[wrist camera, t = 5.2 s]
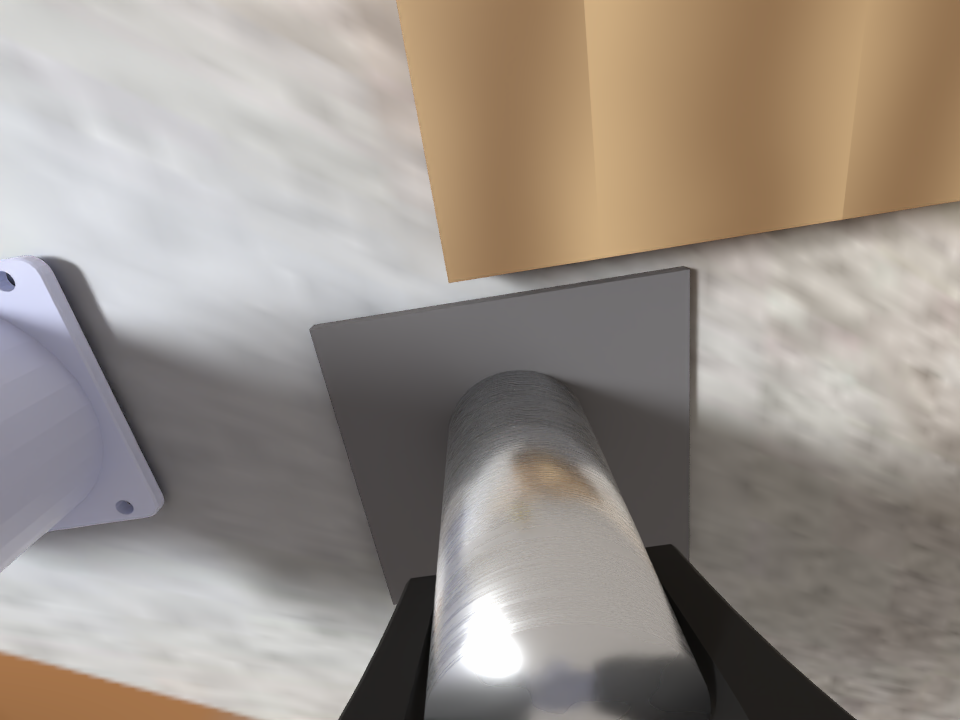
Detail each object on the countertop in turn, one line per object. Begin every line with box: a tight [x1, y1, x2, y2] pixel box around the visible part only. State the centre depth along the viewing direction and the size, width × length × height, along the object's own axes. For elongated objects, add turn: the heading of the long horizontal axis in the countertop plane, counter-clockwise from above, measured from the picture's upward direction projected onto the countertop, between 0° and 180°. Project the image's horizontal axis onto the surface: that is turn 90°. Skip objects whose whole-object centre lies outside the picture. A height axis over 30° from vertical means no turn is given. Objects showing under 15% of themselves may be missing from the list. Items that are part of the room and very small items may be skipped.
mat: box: [310, 266, 690, 605], centre depth 15 cm, size 10×10×1 cm
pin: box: [424, 370, 711, 720], centre depth 11 cm, size 4×4×8 cm
